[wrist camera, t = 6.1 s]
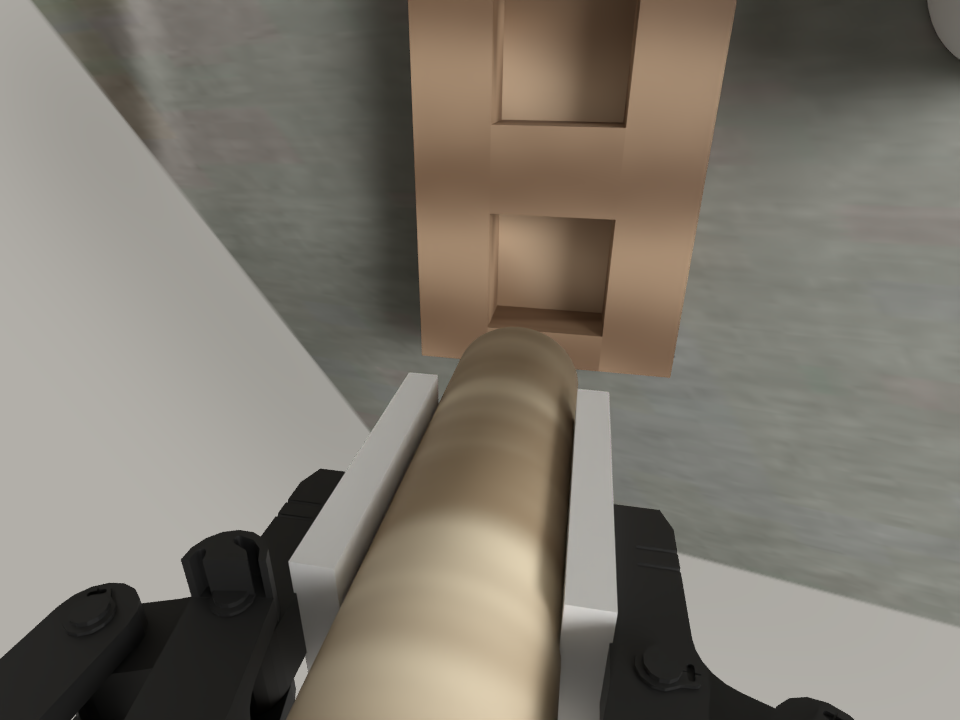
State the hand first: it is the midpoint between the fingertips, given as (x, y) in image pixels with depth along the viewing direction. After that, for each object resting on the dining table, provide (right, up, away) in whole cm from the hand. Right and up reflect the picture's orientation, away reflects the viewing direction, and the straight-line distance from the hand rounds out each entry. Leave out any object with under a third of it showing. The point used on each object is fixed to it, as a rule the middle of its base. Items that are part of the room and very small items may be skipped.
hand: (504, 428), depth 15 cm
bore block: (+3, +11, +13) cm, 17 cm away
